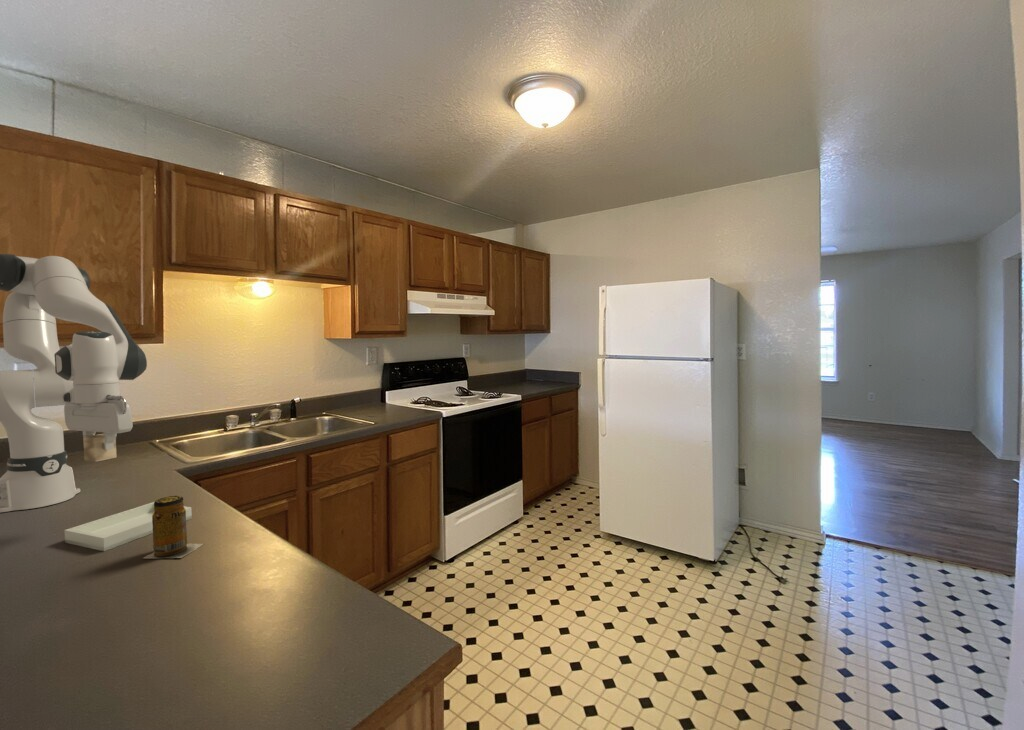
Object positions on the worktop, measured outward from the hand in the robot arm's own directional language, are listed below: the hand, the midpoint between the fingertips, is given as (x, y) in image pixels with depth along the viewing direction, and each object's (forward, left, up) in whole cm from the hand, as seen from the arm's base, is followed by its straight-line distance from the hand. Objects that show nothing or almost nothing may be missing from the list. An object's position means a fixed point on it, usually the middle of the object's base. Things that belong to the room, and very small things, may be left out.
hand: (100, 448), depth 117 cm
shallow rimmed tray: (+11, 0, -20) cm, 23 cm away
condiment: (+33, -5, -20) cm, 39 cm away
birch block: (0, 0, -3) cm, 3 cm away
